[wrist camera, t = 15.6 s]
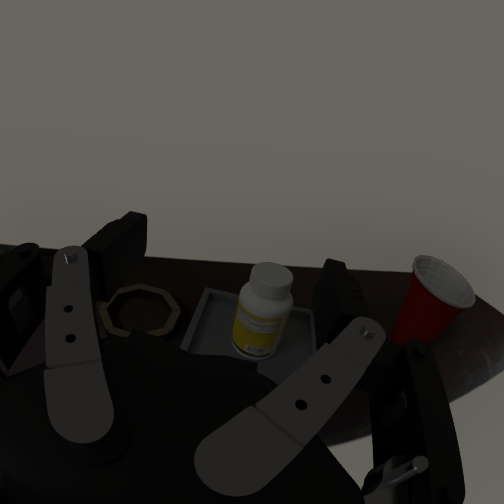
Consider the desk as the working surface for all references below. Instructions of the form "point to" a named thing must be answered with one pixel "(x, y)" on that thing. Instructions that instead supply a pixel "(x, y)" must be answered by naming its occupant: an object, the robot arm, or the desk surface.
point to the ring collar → (149, 293)
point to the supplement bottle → (262, 311)
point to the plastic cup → (431, 300)
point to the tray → (221, 327)
